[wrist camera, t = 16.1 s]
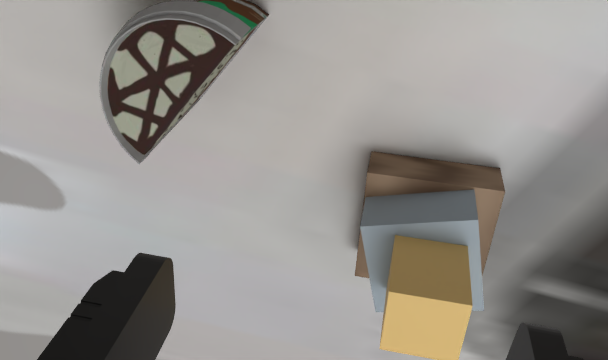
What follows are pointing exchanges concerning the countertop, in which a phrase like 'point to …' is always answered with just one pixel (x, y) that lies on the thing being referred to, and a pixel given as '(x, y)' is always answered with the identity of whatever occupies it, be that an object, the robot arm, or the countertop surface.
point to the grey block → (420, 232)
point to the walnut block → (435, 190)
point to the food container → (169, 65)
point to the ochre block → (427, 299)
